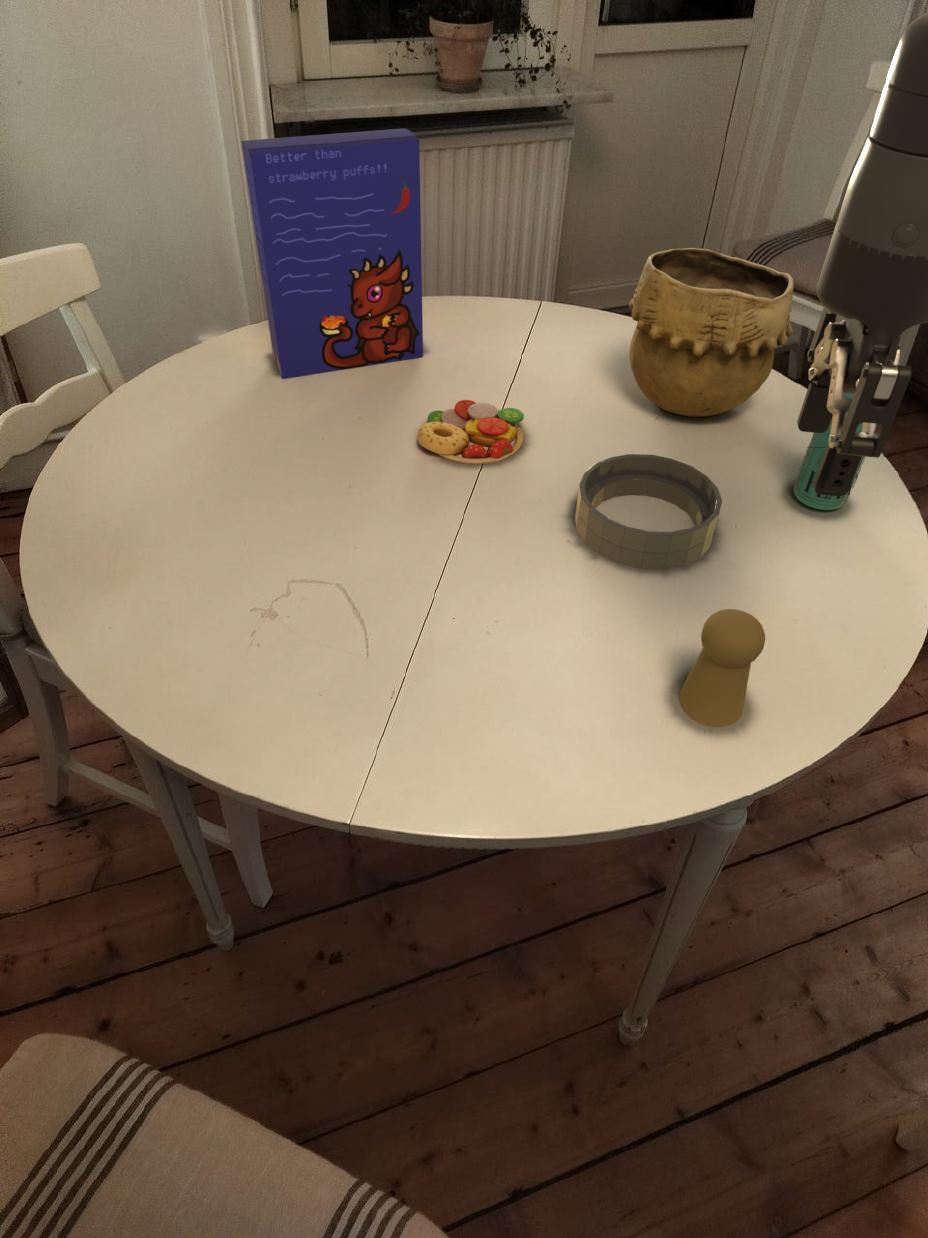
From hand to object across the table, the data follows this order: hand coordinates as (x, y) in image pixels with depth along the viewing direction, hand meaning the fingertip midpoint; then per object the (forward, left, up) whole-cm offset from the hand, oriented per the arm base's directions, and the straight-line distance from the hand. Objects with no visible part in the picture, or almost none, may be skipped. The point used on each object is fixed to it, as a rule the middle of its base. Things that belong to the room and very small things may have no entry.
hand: (819, 459), depth 61 cm
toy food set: (+46, -20, -26) cm, 56 cm away
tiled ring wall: (+19, -17, -26) cm, 36 cm away
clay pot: (+28, -47, -26) cm, 60 cm away
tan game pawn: (+1, +3, -26) cm, 26 cm away
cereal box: (+75, -27, -26) cm, 84 cm away
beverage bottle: (+5, -35, -26) cm, 44 cm away
